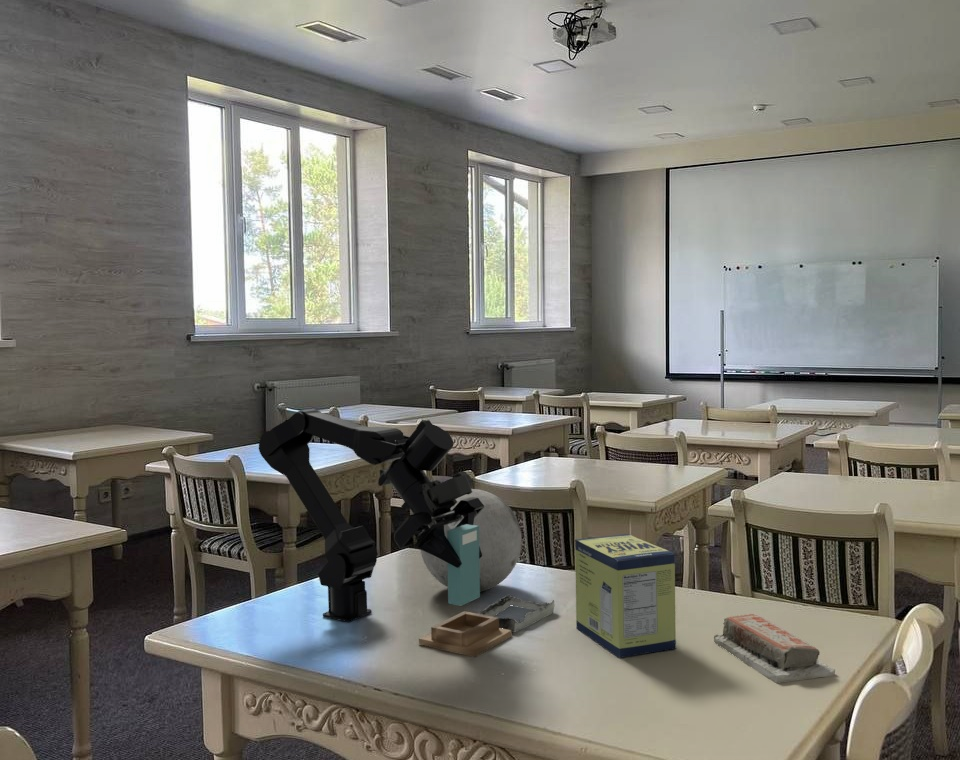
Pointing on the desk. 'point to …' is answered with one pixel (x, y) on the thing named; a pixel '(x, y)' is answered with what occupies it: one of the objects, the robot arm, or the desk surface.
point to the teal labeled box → (464, 565)
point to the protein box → (625, 594)
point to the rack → (466, 634)
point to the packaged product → (771, 649)
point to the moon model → (487, 542)
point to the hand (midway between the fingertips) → (470, 561)
